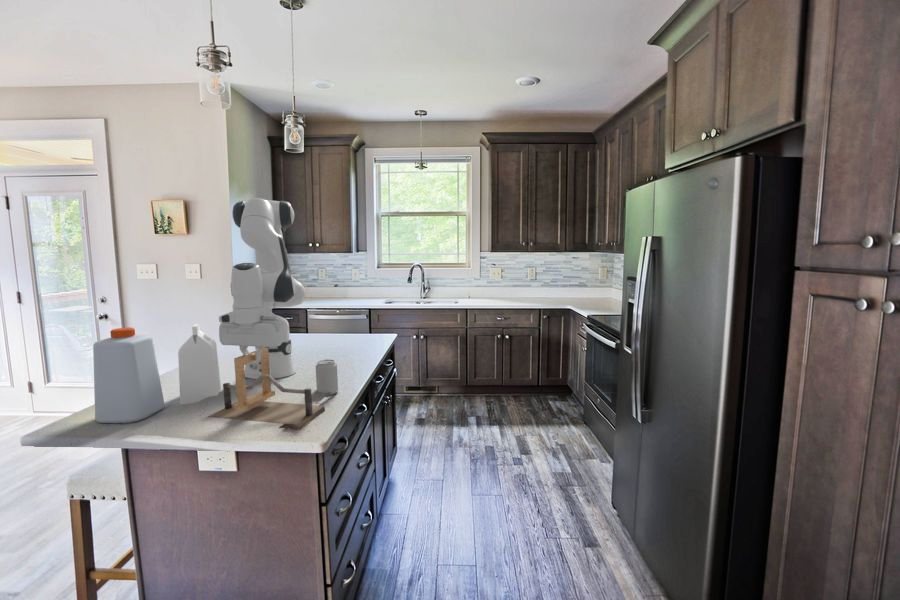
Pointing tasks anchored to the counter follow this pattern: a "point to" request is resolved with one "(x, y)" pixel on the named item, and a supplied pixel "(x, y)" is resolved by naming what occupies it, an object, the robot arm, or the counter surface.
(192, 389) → the milk
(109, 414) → the plastic bottle
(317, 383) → the can
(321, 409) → the buzz board
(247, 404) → the wooden frame
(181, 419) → the counter surface
